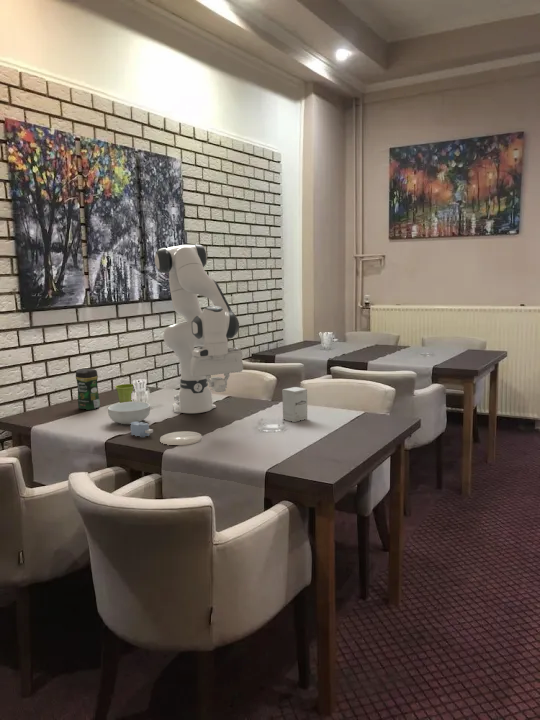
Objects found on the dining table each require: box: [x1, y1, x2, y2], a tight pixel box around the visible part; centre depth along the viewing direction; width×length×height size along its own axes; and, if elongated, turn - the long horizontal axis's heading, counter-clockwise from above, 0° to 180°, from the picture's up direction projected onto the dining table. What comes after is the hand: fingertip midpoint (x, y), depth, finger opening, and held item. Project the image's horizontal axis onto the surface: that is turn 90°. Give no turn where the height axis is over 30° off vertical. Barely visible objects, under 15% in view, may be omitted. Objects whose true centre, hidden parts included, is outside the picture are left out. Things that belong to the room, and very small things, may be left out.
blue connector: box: [130, 421, 154, 438], centre depth 218 cm, size 10×4×4 cm, turn 54°
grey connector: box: [210, 376, 228, 393], centre depth 218 cm, size 10×4×4 cm, turn 25°
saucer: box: [159, 430, 202, 446], centre depth 211 cm, size 15×15×1 cm
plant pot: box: [114, 383, 133, 403], centre depth 272 cm, size 9×9×9 cm
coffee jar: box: [75, 367, 101, 411], centre depth 265 cm, size 10×8×19 cm
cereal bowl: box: [107, 400, 151, 425], centre depth 238 cm, size 17×17×7 cm
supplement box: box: [281, 386, 308, 423], centre depth 234 cm, size 7×7×13 cm
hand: (218, 385), depth 219 cm, fingers closed on grey connector, 4 cm apart
